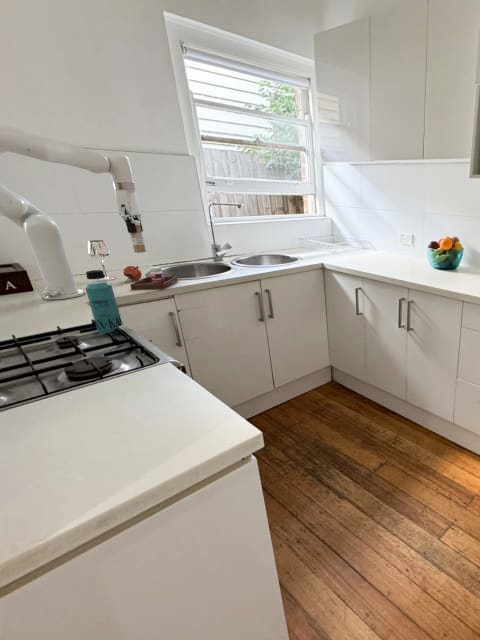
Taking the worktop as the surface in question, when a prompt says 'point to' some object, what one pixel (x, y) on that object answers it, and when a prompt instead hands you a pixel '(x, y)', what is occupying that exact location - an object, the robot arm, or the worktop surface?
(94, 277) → the beverage bottle
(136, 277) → the pomegranate
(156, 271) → the pill bottle
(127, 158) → the robot arm
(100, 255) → the wineglass
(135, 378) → the worktop surface
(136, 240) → the sprinkles bottle
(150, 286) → the tray
